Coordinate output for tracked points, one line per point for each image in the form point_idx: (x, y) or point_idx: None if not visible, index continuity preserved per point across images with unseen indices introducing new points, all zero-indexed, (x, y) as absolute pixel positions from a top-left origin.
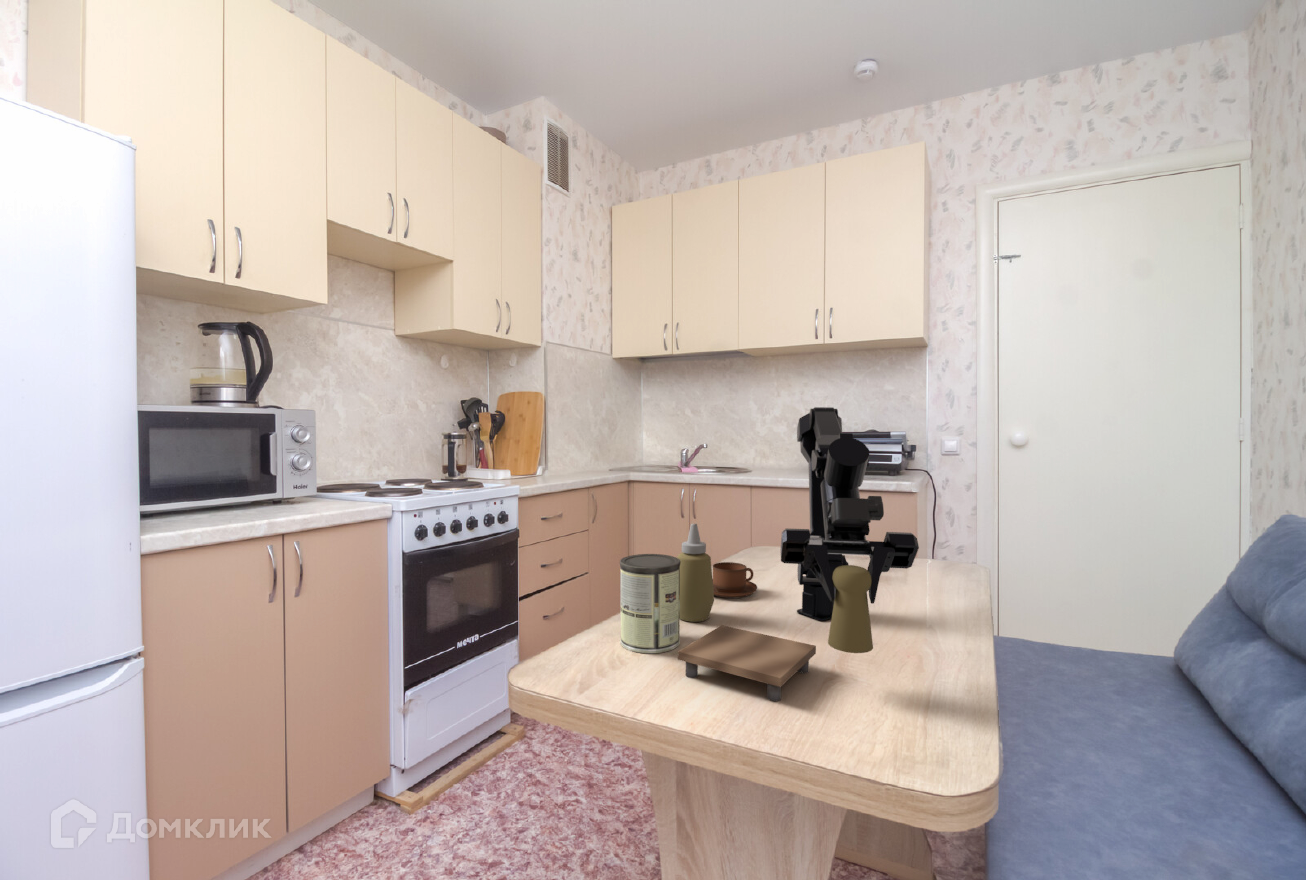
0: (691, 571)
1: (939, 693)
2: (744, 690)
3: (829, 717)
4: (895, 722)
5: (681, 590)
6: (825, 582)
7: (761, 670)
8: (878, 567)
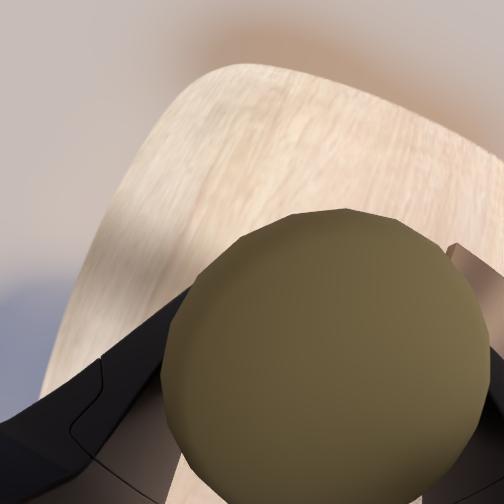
0: None
1: (122, 330)
2: None
3: None
4: (242, 210)
5: None
6: None
7: (485, 277)
8: (58, 415)
